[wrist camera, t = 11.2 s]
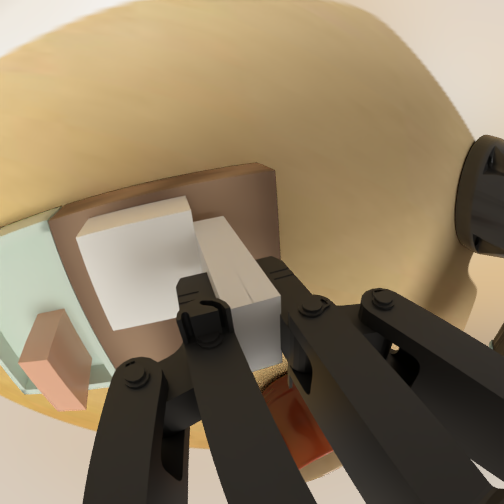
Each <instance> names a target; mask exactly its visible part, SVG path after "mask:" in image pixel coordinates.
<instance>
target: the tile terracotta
mask: <svg viewBox="0 0 504 504" xmlns="http://www.w3.org/2000/svg"><path fill="white" fill-rule="evenodd" d="M18 364H19V365H20V367H21V368H22V369H23V371H24V372H25V373H26V374H27V376H28V377H29V378H30V380H31V381H32V382H33V383H34V384H35V386H36V387H37V388H38V389H39V390H40V392H41V393H42V394H43V395H44V396H45V397H46V399H47V400H48V401H49V402H50V403H51V404H52V405H53V406H54V407H55V408H56V410H57V411H75V410H86V408H87V397H88V387H89V379H90V371H91V364H92V357H91V356H90V354H89V352H88V351H87V349H86V347H85V346H84V344H83V342H82V341H81V339H80V337H79V335H78V334H77V332H76V330H75V328H74V326H73V324H72V323H71V321H70V319H69V317H68V315H67V313H66V311H65V309H59V310H55V311H50V312H45V313H40V314H38V315H37V317H36V319H35V321H34V324H33V326H32V328H31V331H30V333H29V335H28V338H27V340H26V343H25V345H24V348H23V350H22V353H21V356H20V358H19V361H18Z"/></svg>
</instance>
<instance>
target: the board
mask: <svg viewBox="0 0 504 504" xmlns="http://www.w3.org/2000/svg"><path fill="white" fill-rule="evenodd" d="M181 196H186V199H187V201H188V204H189V206H190V209H191V213H192V219H193V222H196V221H200V220H205V219H210V218H215V217H220V216H224V218H225V219H226V220H227V222H228V223H229V224H230V226H231V227H232V229H233V230H234V231H235V233H236V234H237V236H238V237H239V238H240V240H241V241H242V243H243V244H244V245H245V247H246V248H247V249H248V251H249V252H250V254H251V255H252V256H253V258H254V259H255V260H256V259H260V258H265V257H269V256H273V257H275V258H277V259H279V260H281V258H280V239H279V222H278V205H277V190H276V176H275V170H273V169H271V168H269V167H266V166H264V165H261V164H259V163H249V164H242V165H236V166H229V167H223V168H217V169H212V170H206V171H200V172H195V173H190V174H185V175H180V176H175V177H170V178H165V179H161V180H156V181H152V182H147V183H143V184H139V185H135V186H131V187H127V188H123V189H119V190H115V191H111V192H107V193H104V194H100V195H97V196H93V197H90V198H86V199H83V200H79V201H76V202H73V203H70V204H66V205H64V206H63V207H62V208H61V209H60V210H59V211H58V212H57V213H56V214H55V215H54V216H53V217H52V218H51V219H50V220H49V221H48V223H49V226H50V229H51V232H52V235H53V238H54V241H55V244H56V247H57V250H58V252H59V255H60V258H61V260H62V263H63V265H64V268H65V270H66V273H67V275H68V278H69V280H70V282H71V285H72V287H73V289H74V292H75V294H76V296H77V298H78V300H79V302H80V305H81V307H82V309H83V311H84V313H85V315H86V317H87V319H88V321H89V323H90V325H91V327H92V329H93V330H94V332H95V334H96V336H97V338H98V340H99V342H100V343H101V345H102V347H103V349H104V350H105V352H106V354H107V356H108V357H109V359H110V361H111V362H112V364H113V366H114V367H115V369H117V368H118V367H119V366H120V365H121V364H122V363H123V362H125V361H127V360H129V359H131V358H135V357H148V358H151V359H153V360H155V361H156V362H159V361H161V360H163V359H165V358H167V357H169V356H170V355H172V354H174V353H175V352H176V351H177V350H178V349H179V348H180V346H181V345H182V343H183V340H182V337H181V334H180V331H179V328H178V325H177V322H176V318H172V319H168V320H163V321H158V322H154V323H149V324H145V325H140V326H135V327H130V328H125V329H120V330H115V331H113V329H112V327H111V325H110V323H109V321H108V319H107V317H106V314H105V312H104V310H103V308H102V305H101V303H100V301H99V299H98V296H97V294H96V291H95V289H94V287H93V284H92V282H91V279H90V276H89V274H88V271H87V269H86V266H85V263H84V260H83V258H82V255H81V252H80V249H79V246H78V243H77V240H76V236H77V235H78V233H79V232H80V230H81V229H82V227H83V226H84V224H85V223H86V221H87V220H88V218H92V217H96V216H99V215H103V214H107V213H111V212H115V211H119V210H123V209H127V208H131V207H135V206H140V205H144V204H148V203H153V202H157V201H162V200H166V199H171V198H176V197H181Z"/></svg>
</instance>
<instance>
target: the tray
mask: <svg viewBox="0 0 504 504" xmlns="http://www.w3.org/2000/svg"><path fill="white" fill-rule="evenodd" d="M61 208H62V206H60V207H57V208H54V209H51V210H48V211H45V212H42V213H39V214H36V215H33V216H31V217H28V218H25V219H22V220H20V221H17V222H15V223H12V224H9V225H7V226H4V227H2V228H0V365H1V366H2V368H3V369H4V370H5V371H6V373H7V374H8V375H9V377H10V378H11V379H12V380H13V381H14V383H15V384H16V385H17V386H18V387H19V389H20V390H21V391H22V392H23V393H24V394H42V393H41V392H40V390H39V389H38V388H37V387H36V386H35V384H34V383H33V382H32V381H31V380H30V378H29V377H28V376H27V374H26V373H25V372H24V371H23V369H22V368H21V367H20V365H19V364H18V361H19V358H20V356H21V353H22V350H23V348H24V345H25V343H26V340H27V338H28V335H29V333H30V331H31V328H32V326H33V324H34V321H35V319H36V317H37V315H38V314H40V313H45V312H50V311H55V310H59V309H65V311H66V313H67V315H68V317H69V319H70V321H71V323H72V324H73V326H74V328H75V330H76V332H77V334H78V335H79V337H80V339H81V341H82V342H83V344H84V346H85V347H86V349H87V351H88V352H89V354H90V356H91V357H92V364H91V371H90V379H89V387H88V390H90V389H98V388H106V387H109V386H110V383H111V379H112V376H113V374H114V372H115V370H116V369H115V367H114V366H113V364H112V362H111V361H110V359H109V357H108V356H107V354H106V352H105V350H104V349H103V347H102V345H101V343H100V342H99V340H98V338H97V336H96V334H95V332H94V330H93V329H92V327H91V325H90V323H89V321H88V319H87V317H86V315H85V313H84V311H83V309H82V307H81V305H80V302H79V300H78V298H77V296H76V294H75V292H74V289H73V287H72V285H71V282H70V280H69V278H68V275H67V273H66V270H65V268H64V265H63V263H62V260H61V258H60V255H59V252H58V250H57V247H56V244H55V241H54V238H53V235H52V232H51V229H50V226H49V223H48V221H49V220H50V219H51V218H52V217H53V216H54V215H55V214H56V213H57V212H58V211H59V210H60V209H61Z"/></svg>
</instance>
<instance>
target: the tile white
mask: <svg viewBox="0 0 504 504" xmlns="http://www.w3.org/2000/svg"><path fill="white" fill-rule="evenodd" d="M76 240H77V243H78V246H79V249H80V252H81V255H82V258H83V260H84V263H85V266H86V269H87V271H88V274H89V276H90V279H91V282H92V284H93V287H94V289H95V291H96V294H97V296H98V299H99V301H100V303H101V305H102V308H103V310H104V312H105V314H106V317H107V319H108V321H109V323H110V325H111V327H112V329H113V331H115V330H120V329H125V328H130V327H135V326H140V325H145V324H149V323H154V322H158V321H163V320H168V319H172V318H176V317H177V313H178V311H179V304H178V297H177V292H176V285H177V283H178V281H179V279H180V278H183V277H187V276H192V275H196V274H200V273H202V268H201V263H200V257H199V252H198V247H197V242H196V236H195V230H194V225H193V219H192V213H191V209H190V206H189V204H188V201H187V199H186V196H181V197H176V198H171V199H166V200H162V201H157V202H153V203H148V204H144V205H140V206H135V207H131V208H127V209H123V210H119V211H115V212H111V213H107V214H103V215H99V216H96V217H92V218H88V220H87V221H86V223H85V224H84V226H83V227H82V229H81V230H80V232H79V233H78V235H77V236H76Z"/></svg>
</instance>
